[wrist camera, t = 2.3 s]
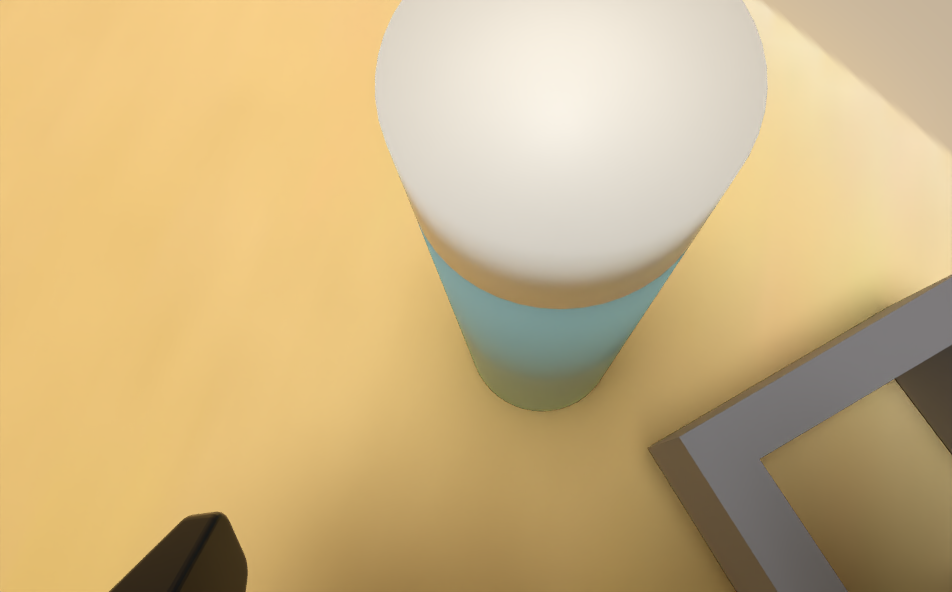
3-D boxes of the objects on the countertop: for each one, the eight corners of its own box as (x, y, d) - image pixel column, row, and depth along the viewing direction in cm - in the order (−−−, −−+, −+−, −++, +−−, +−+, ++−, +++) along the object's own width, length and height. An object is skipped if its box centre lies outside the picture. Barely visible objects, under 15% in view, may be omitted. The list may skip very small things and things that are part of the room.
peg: (638, 366, 19) (852, 130, 7) (515, 437, 19) (493, 330, 6) (564, 251, 20) (626, -140, 8) (446, 316, 20) (312, 19, 7)
